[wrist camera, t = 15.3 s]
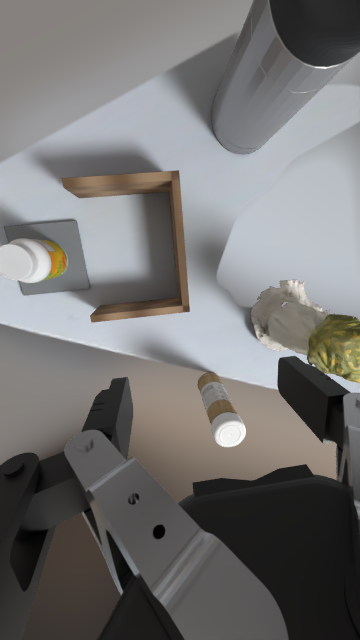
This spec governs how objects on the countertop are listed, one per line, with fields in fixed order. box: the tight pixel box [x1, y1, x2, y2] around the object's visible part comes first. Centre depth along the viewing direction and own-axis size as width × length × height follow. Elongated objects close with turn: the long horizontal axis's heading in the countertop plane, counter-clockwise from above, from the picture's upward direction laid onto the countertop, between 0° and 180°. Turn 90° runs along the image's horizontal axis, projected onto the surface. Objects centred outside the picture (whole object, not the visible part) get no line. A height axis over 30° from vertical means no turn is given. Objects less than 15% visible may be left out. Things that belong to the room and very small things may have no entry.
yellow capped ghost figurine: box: [251, 280, 360, 383], centre depth 34 cm, size 12×13×18 cm
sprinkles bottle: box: [198, 373, 246, 447], centre depth 38 cm, size 5×5×13 cm
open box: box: [62, 171, 190, 322], centre depth 34 cm, size 14×18×6 cm
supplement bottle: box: [0, 238, 68, 283], centre depth 31 cm, size 5×5×10 cm
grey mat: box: [4, 221, 90, 295], centre depth 36 cm, size 10×10×1 cm
